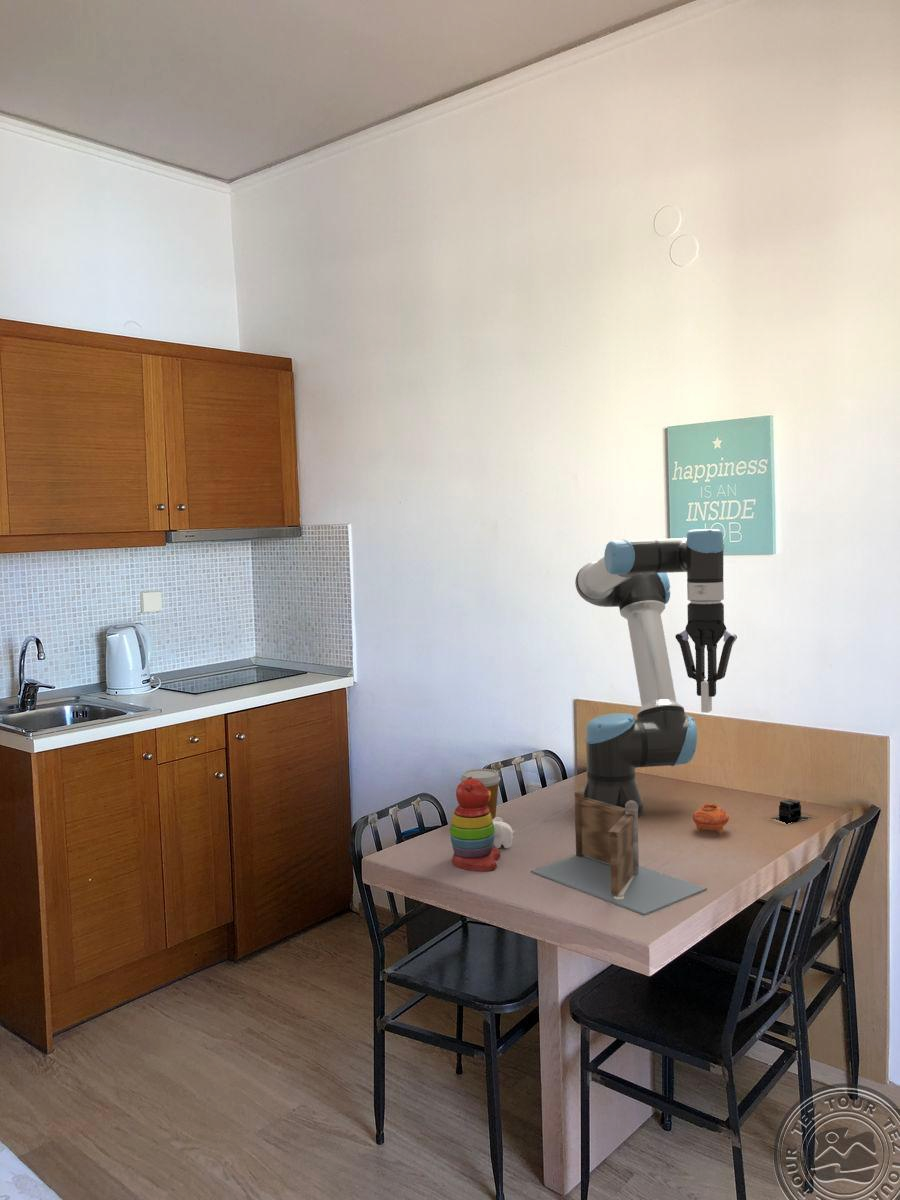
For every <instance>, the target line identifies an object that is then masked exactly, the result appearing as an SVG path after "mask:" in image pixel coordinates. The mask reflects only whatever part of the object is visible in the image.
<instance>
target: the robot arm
mask: <svg viewBox="0 0 900 1200" xmlns="http://www.w3.org/2000/svg"><path fill="white" fill-rule="evenodd" d="M724 549H725V544H724V535H723V532H722V530H720V529H718V528H717V529H714V528H713V529H712V528H711V529H710V528H709V529H690V530H688V531H687V533H686V537H678V538H657V539H654V538H653V539H629V540H628V539H619V540H612V541H608V542H607V544H606V546H605V549H604V556H603V557H602V558H600V559H599V560H598V561H591V562H589V563H586V564H585V565H583V566H582V567H581V568H580V569H579V570H578V572H577V574H576V576H575V581H574V582H575V583H574V584H575V589H576V591H577V593H578V594H579V596H580V597H581V598H582V599H583V600H584V601H585V602H588V603H590V604H591V605H594V606H596V607H603V608H609V607H611V608H613V607H614V608H615V607H617V608H619V609H618V610H619V613H620V614H619V615H620V616H621V617H622V618H624V619H625V620H627V625H628V631H629V639H630V643H631V644H630V646H631V651H632V656H633V662H634V669H635V674H636V681H637V687H638V692H639V698H640V705H641V706H640V707H641V708H640V709H639V710H638V711H637V713H636V718H637V719H636V718H635V716H634V715H633V713H628V712H621V713H619V712H615V713H606V714H603V715H599V716H596V717H593V718H591V719H590V720H589V721H588V723H587V725H586V731H585V732H586V733H585V744H586V747H585V749H586V750H585V751H586V782H585V786H584V790H583V791H582V792H584V798H589V799H593V800H597V801H600V802H604V803H607V804H611V805H615V806H618V807H622V808H625V804H626V803H627V802H628V801H630V800H632V801H635V802H636V803H637V804H638V817H639V816H641V815H642V814H643V812H644V802H643V799H642V796H641V793H640V789H639V787H638V784H637V781H636V780H637V779H636V769H637V768H651V767H668V766H669V767H675V766H680V765H687V764H689V763H690V762H691V761H692V760H693V758H694V757H695V754H696V750H697V745H698V728H697V723H696V721H695V719H694V717H692V716H690V715H686V713H685V708H684V706H683V705H681V704H680V703H678V702H677V698H676V693H675V687H674V681H673V675H672V670H671V665H670V660H669V653H668V648H667V642H666V638H665V637H666V636H665V632H664V625H663V619H662V616H661V615H662V613H663V612H664V611H665V609H666V604H668V603H669V601H670V598H671V590H670V588H671V582H670V578H669V575H668V573H686V578H687V579H686V582H687V584H686V585H687V586H686V587H687V591H686V592H687V594H686V595H687V600H688V604H687V607H686V608H687V623H686V625H685V629H684V630H683V631H681V632H678V633H676V634H675V639H676V641H677V642H678V644H679V646H680V649H681V650H680V651H681V654H682V658H683V663H684V666H685V670H686V675H687V677H688V678H690V679H692V680H695V681H696V695H697V696H698V697H700V703H701V704H700V711H701V713H711V711H713V700H712V699H713V698H714V697H715V696H716V695H717V681H719V680H722V679H724V678H725V677H726V673H727V670H728V666H729V661H730V656H731V652H732V648H733V645H735V644H734V643H735V642H736V641H737V638H738V636H737V635H736V634H732V633H730V632H729V631H728V630H727V625H725V604H723V602H722V601H723V600H724V598H725V591H724V589H725V588H724V586H725V585H724ZM689 637H690V639H691V640H692V642H693V643H694V650H695V660H694V658H693V654H692V650H691V646H690V641H689ZM722 638H723V642H724V644H723V647H722V650H721V654H720V655H721V656H720V660H719V662H718V663H719V664H717V649H718V643H719V642H720V640H721V639H722ZM705 649H706V651H707V677H706V675H705V674H706V672H705V671H706V670H705V668H706V666H705V665H706V664H705V660H706V659H705ZM694 661H695V663H694ZM717 665H718V666H717ZM706 678H707V679H706Z"/></svg>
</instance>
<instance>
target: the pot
mask: <svg viewBox="0 0 900 1200" xmlns="http://www.w3.org/2000/svg"><path fill="white" fill-rule="evenodd" d="M692 821H693V822H694V825H695V826H696V829H697V832H698V833H700V832H701V833H702V829H703V830H707V831H717V833H718V835H719V836H722V835H723V830H724V826H726V825H727V824H728V823H729V821H730V817H729V814H728V813H727V812H726V811H725V810H724V809H722V808H721V807H719V805H717V804H715V803H713V804H710V803H706V804H702V806H701V807H700V808H698V809H696V811H695V812H694V813H693V815H692Z"/></svg>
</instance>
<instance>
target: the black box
mask: <svg viewBox="0 0 900 1200" xmlns="http://www.w3.org/2000/svg"><path fill="white" fill-rule="evenodd" d="M801 814H802V805H801V801H799V800H795V799H791V798H788V799H785V800H780V801H779V806H778V817H777V816H774V818H773V817H770V818H771V819H776V820H779V821H782V822H785V823H786V824H788V823H791V822H795V823H799V822H801V821H800V820H802V819H806V820H809V819H808V818H810V819H812V818H811V817H812V816H810V817H808V816H809V815H806V816H804V815H805V814H803V815H801ZM798 821H799V822H798ZM791 824H792V823H791ZM788 825H789V824H788Z"/></svg>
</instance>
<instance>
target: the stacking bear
mask: <svg viewBox="0 0 900 1200" xmlns="http://www.w3.org/2000/svg"><path fill="white" fill-rule="evenodd" d="M455 789H456V791H455V796H456V800H457V803H458V806H457V807H456V808H455V809H454V811H453V813H452V816H451V821H450V822H451V823H450V826H449V827H450V828H449V829H450V830H449V833H450V834H449V836H450V841H451V842H450V843H451V845H452V850H453V855H452V858H451V863H452V865H454V866H455V867H457V868H460V869H463V870H469V871H476V872H478V871H479V872H490V871H494V870H496V869H497V867H498V863H497V862H496V860H499V859H500V858H501V851H500V850H499V848H498V849H497V848H495V847H494V831H495V829H494V824H493V821H492V816H491V813H490V809H489V808H488V806H486V804H487V803H488V802H489V801H490V798H491V796H492V794H491V792H490V791H489V790H488V789H487V788H486V787H485V786H484V784H483V783H482V782H481V781H479V780H477V779H472V777H468V779H467V780H464V781H460V783H459V784H458V785H457V787H456V788H455Z"/></svg>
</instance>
